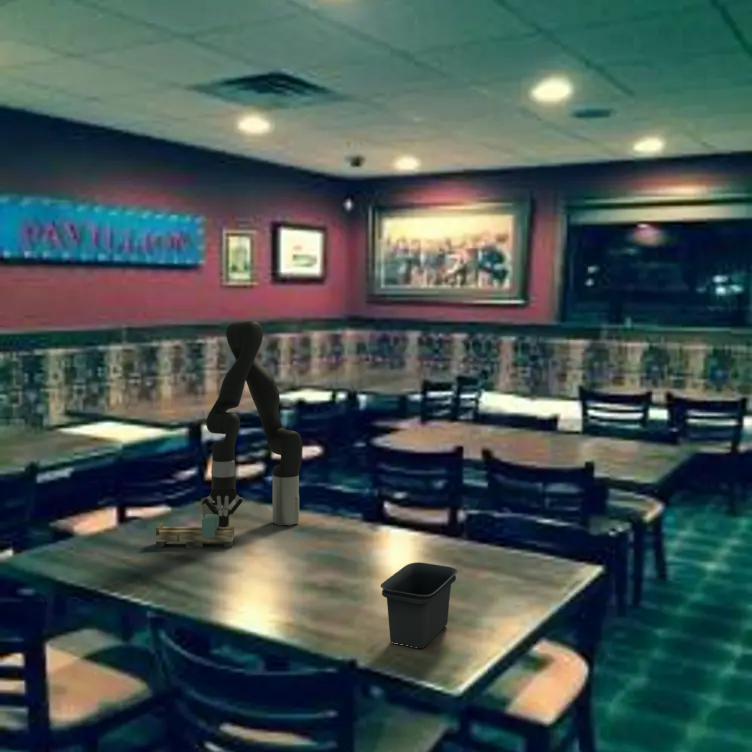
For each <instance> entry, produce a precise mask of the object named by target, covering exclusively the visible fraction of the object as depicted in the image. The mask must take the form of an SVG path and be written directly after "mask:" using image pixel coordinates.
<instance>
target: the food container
mask: <svg viewBox="0 0 752 752" xmlns="http://www.w3.org/2000/svg"><path fill="white" fill-rule="evenodd" d="M204 499H205V498H201V502H200V505H201V506H202V507H201V508H202V517H203V518H204V517H205V515H206V514H213V512H212V511H211V510H210V509H209V508H208V506H207V505H206V504H205V503H204ZM211 499H212V498H211ZM212 503H213V505H214V506H215V507H216V508H217V510H218V505H217V504H216V503H215V502H214V500H213V499H212ZM232 507H233V502H232V503H231V504H230V505H229V510H231V509H232ZM223 515H224V505H223ZM230 515H231V514H230ZM230 515H229V516H228V525H227V526H226V527H230V519H231V518H230V517H231V516H230ZM203 518H202V519H203ZM218 523H219V516H218ZM219 527H221V526H220V525H219Z"/></svg>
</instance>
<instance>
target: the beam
mask: <svg viewBox="0 0 752 752" xmlns="http://www.w3.org/2000/svg"><path fill="white" fill-rule="evenodd" d="M168 542H170V543H171V542H172V543H173V542H176V543H177V542H178V543H179V542H184V543H185V549H202V548H203V547H204V545H205V543H207V542H214V543H215V542H217V543H219V542H221V543H222V542H224V543H223V545H224V547H232V546H233V547H234V545H235V526H229V527H217V529H216V530H215V538H202V526H164V523H163V522H159V524H158V525H157V526H156V528H155V545H156V546H155V548H156V547H164V546H165V547H166V546H167V544H168ZM166 543H167V544H166ZM202 546H203V547H202ZM165 547H164V548H165ZM224 547H223V548H224ZM233 547H232V548H233Z"/></svg>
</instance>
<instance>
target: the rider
mask: <svg viewBox="0 0 752 752" xmlns="http://www.w3.org/2000/svg"><path fill="white" fill-rule="evenodd" d="M201 527H202V538H215V530H216V529H217V527H219V523H218V515H217V514H206V515H205V517H204V518H202V519H201Z"/></svg>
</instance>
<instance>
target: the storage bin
mask: <svg viewBox="0 0 752 752" xmlns="http://www.w3.org/2000/svg"><path fill="white" fill-rule="evenodd" d="M458 572H459V571H458V569H457V568H455V567H452V566H445V565H440V564H433V563H427V562H411V563H408V564H406V565H404V566H403V567H401V568H400V569H399V570H398V571H396V572H395V573H394V574H393V575H391V576H390V577H389V578H387V579H386V580H384V581H383V582H382V583H380V588H381V589H382V590H381V595H382V596H383V597H384V598H386V604H387V615H388V616H387V617H388V628H389V639H390V641H389V642H390V643H391V642H393V643H398V644H403V645H408V646H412V647H417V648H423V649H425V648H426V647H427V646H428V645H427V644H428V643H431V642H432V641H433V639H434V638H435V637H436V636H437V635H438V634H440V632H441V631H442V630H443V629H444V628H445V627H446V626H447V624H448V620H449V609H450V608H449V607H450V597H451V591H452V589H451V588H452V584H454V582H455V581H457V576H456V574H457V573H458ZM393 643H392V644H393ZM426 645H427V646H426ZM425 646H426V647H425ZM412 647H411V648H412ZM424 647H425V648H424ZM417 648H416V649H417Z"/></svg>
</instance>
